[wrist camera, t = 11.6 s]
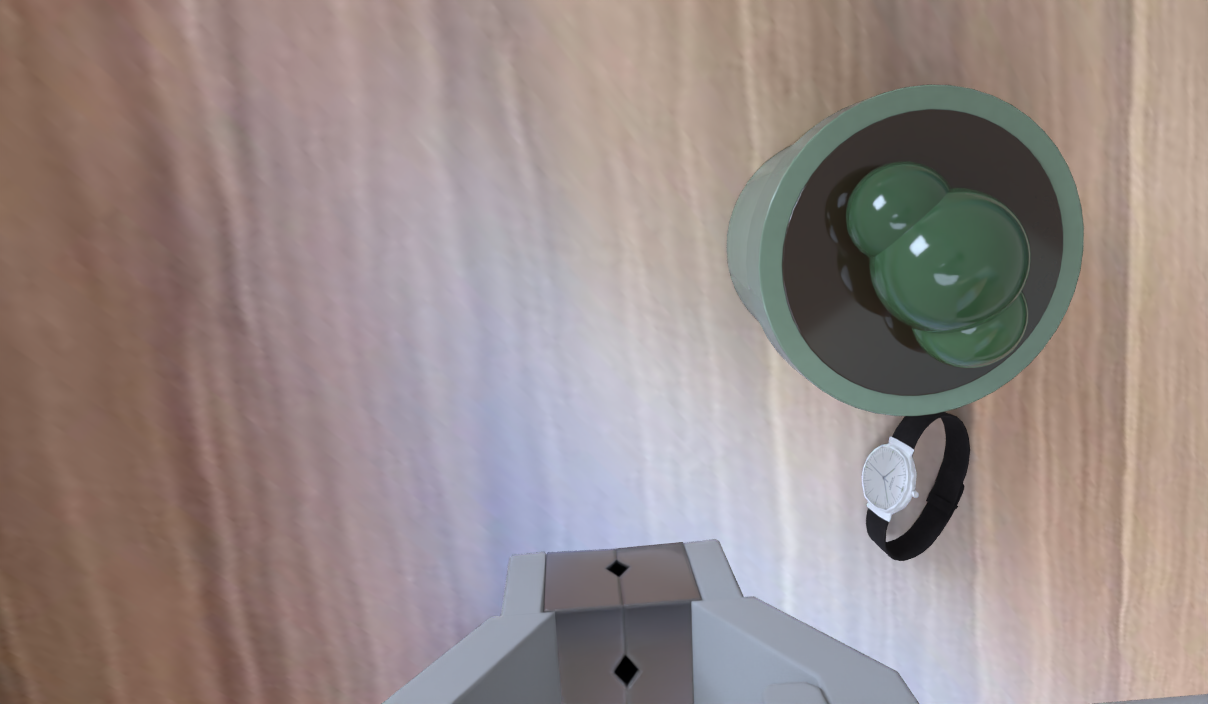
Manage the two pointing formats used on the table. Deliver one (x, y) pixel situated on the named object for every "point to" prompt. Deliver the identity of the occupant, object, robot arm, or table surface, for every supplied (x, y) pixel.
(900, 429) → the watch
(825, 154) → the plant pot
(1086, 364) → the table surface
